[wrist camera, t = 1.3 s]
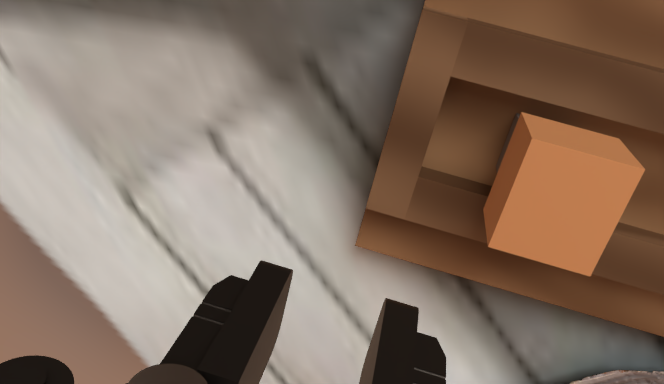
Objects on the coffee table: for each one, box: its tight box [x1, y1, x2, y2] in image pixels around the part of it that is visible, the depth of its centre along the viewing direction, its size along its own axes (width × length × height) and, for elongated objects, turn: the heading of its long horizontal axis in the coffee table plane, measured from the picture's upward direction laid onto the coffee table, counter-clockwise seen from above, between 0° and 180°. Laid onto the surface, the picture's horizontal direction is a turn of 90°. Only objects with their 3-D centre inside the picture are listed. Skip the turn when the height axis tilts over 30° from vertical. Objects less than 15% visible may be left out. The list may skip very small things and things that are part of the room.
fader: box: [483, 112, 645, 276], centre depth 24 cm, size 5×4×7 cm
